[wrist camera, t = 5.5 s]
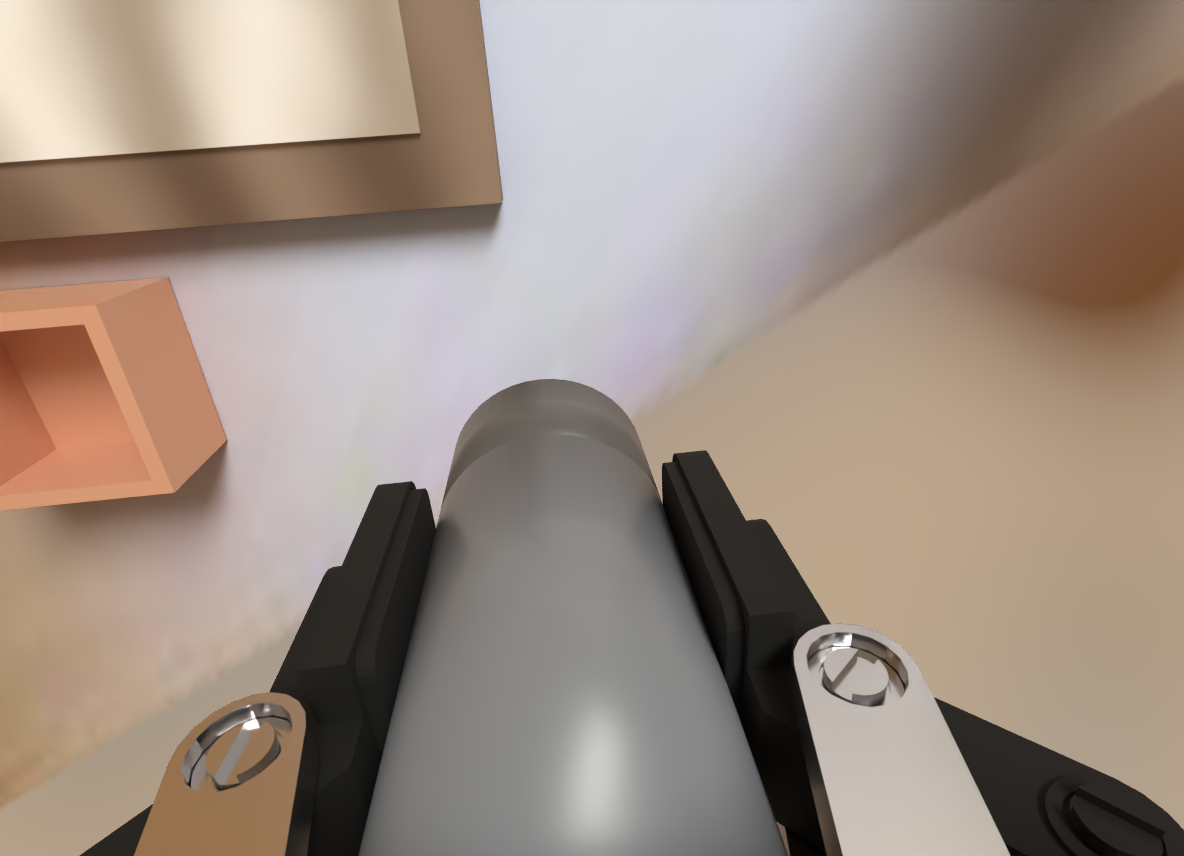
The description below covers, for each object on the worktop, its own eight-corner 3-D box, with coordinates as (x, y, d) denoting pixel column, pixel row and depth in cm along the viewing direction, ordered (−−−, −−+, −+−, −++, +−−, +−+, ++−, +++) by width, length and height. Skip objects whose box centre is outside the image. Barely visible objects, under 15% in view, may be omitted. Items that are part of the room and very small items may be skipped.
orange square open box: (168, 276, 24) (95, 305, 20) (226, 440, 27) (174, 492, 23) (-25, 292, 24) (-139, 324, 20) (57, 456, 27) (-27, 513, 23)
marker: (639, 369, 12) (930, 1006, 3) (645, 533, 14) (848, 1241, 5) (438, 388, 12) (173, 1126, 3) (469, 552, 14) (358, 1327, 5)
